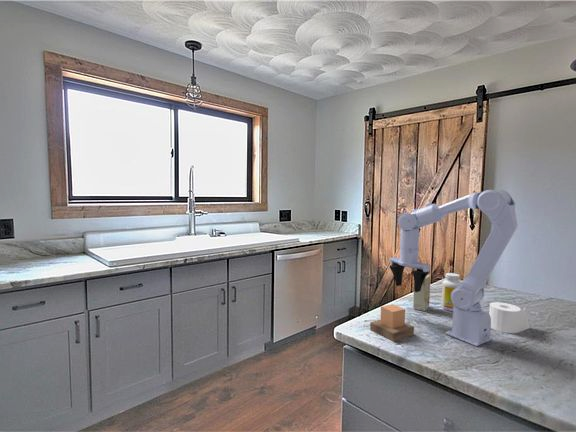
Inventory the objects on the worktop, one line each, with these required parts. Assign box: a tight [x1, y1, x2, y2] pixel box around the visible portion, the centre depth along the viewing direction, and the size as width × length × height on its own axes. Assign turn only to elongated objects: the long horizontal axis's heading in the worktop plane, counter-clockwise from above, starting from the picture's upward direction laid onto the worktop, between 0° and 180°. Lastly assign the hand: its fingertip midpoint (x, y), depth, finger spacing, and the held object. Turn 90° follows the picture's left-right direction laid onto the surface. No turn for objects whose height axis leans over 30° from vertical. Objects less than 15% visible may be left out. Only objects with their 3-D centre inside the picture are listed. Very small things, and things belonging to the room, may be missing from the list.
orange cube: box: [380, 303, 406, 328], centre depth 99 cm, size 5×5×5 cm
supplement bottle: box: [440, 272, 462, 312], centre depth 119 cm, size 7×7×13 cm
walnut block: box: [369, 318, 415, 342], centre depth 99 cm, size 9×9×3 cm
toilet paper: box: [488, 301, 530, 334], centre depth 104 cm, size 8×11×7 cm
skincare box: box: [412, 274, 431, 312], centre depth 120 cm, size 6×4×12 cm
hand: (407, 288), depth 109 cm, fingers open, 7 cm apart
